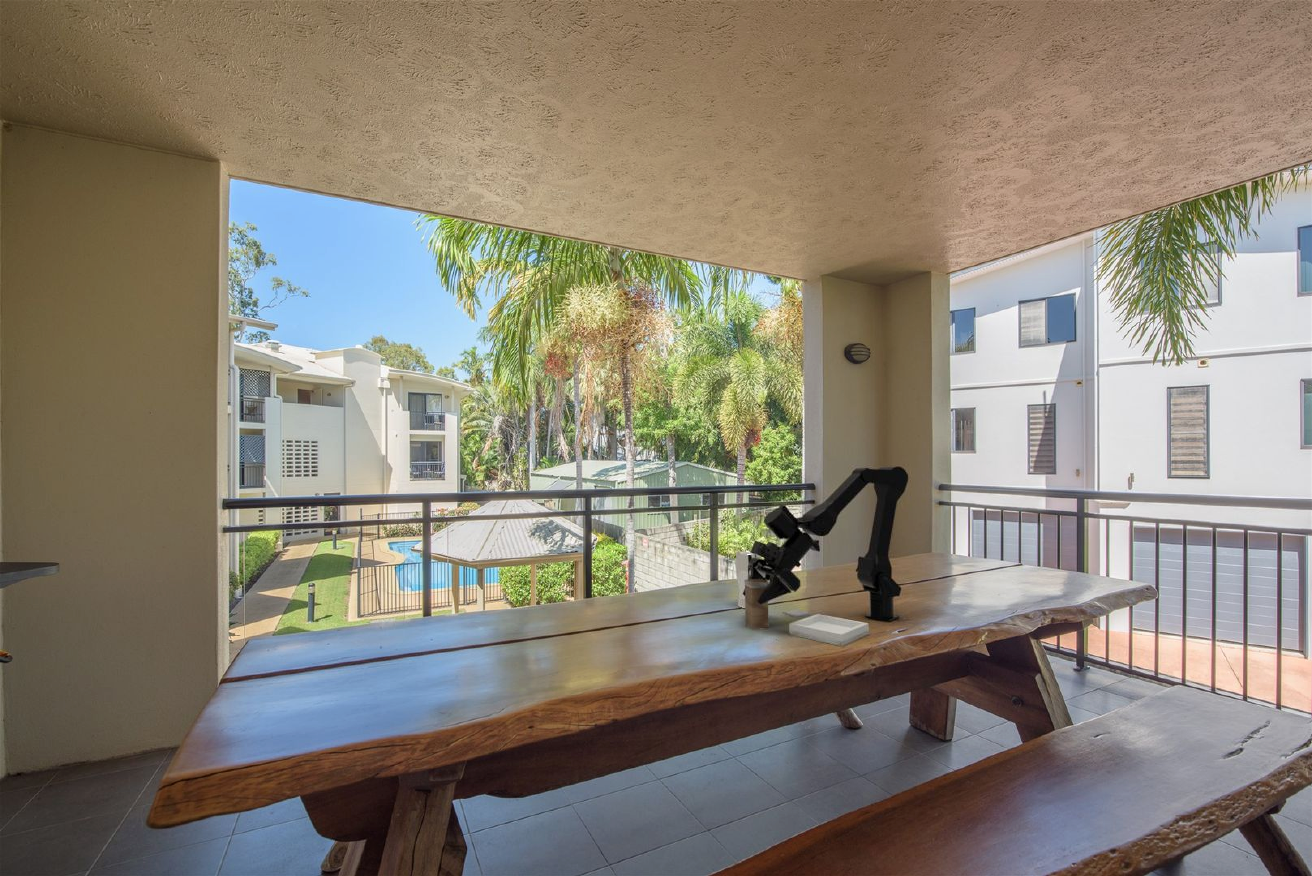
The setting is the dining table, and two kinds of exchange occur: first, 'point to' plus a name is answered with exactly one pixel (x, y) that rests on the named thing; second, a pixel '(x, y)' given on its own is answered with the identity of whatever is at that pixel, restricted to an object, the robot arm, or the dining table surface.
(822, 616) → the tray
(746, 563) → the beer glass
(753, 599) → the brown rectangular block
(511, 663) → the dining table surface
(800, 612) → the slate tile
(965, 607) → the dining table surface
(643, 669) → the dining table surface
